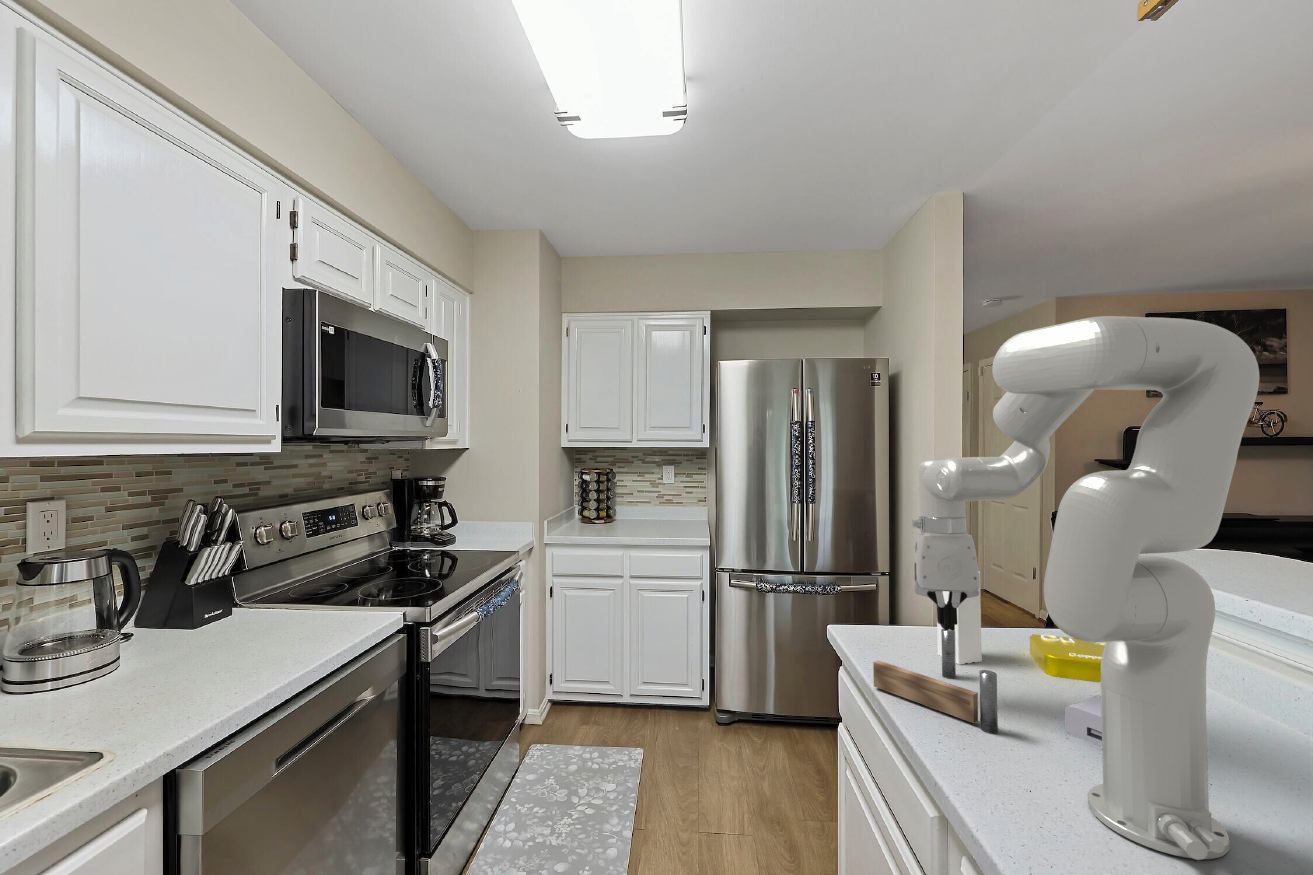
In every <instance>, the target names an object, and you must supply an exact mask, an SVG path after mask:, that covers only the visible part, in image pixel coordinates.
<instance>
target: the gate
mask: <svg viewBox="0 0 1313 875" xmlns="http://www.w3.org/2000/svg"><path fill="white" fill-rule="evenodd" d="M872 663H873V664H872V665H873V666H872V667H873V687H875V688H877V689H879V690H882V691H886V692H887V693H891V694H894V695H895V696H899V697H902V698H904V699H907V700H910V701H912V702H916V703H918V704H921V705H923V706H926V707H928V708H931V709H934V710H936V711H939V712H942V713H945V714H948V715H949V716H950V715H951V716H953V717H956V718H959V719H961V720H964V721H967V722H969V723H972V724H975V723H977V722H978V721H979V697H978V696H979V693H978V692H976V691H974V690H970V689H968V688H965V687H961V686H959V685H955V684H951V683H949V682H946V681H943V680H940V679H936V678H933V677H930V676H928V675H925V674H921V673H919V672H915V671H913V670H909V669H906V668H902V667H900V666H897V665H893V664H891V663H887V662H884V661H881V660H878V659H877V660H875V661H873V662H872Z"/></svg>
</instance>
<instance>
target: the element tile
mask: <svg viewBox="0 0 1313 875" xmlns="http://www.w3.org/2000/svg"><path fill="white" fill-rule="evenodd" d="M1105 645H1106V642H1087V641H1082V640H1078V639H1075V638H1073V637H1067V636H1066V637H1065V636H1055V635H1051V634H1033V633H1032V634H1031V635H1030V636H1029V655H1030V656H1031V657H1032V659H1033V658H1034V659H1033V660H1034V661H1035V663H1036V662H1037V663H1038V664H1037V663H1036V664H1037V665H1038V667H1039V668H1040V669H1041V670H1042V671H1043V673H1045V674H1046V675H1048V676H1051V677H1055V678H1059V679H1068V680H1069V679H1070V680H1077V681H1086V682H1093V683H1101V660H1102V655H1103V651H1104V648H1105Z"/></svg>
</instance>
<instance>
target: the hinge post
mask: <svg viewBox="0 0 1313 875" xmlns="http://www.w3.org/2000/svg"><path fill="white" fill-rule="evenodd" d="M979 710H980V711H979V713H980V714H979V716H980V717H979V720H980V725H979V727H980V730H981V731H983V732H985V733H987V734H998V732H999V722H998V721H999V717H998V716H999V714H998V713H999V712H998V674H997V673H996V672H995V671H992V670H989V669H988V670H987V669H981V670H979Z"/></svg>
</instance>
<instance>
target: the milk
mask: <svg viewBox="0 0 1313 875" xmlns="http://www.w3.org/2000/svg"><path fill="white" fill-rule="evenodd" d="M979 579H980V580H981V571H979ZM978 591H979V595H978V596H976V597H971V598H966V599H965V600H964V601H963V602H962V603H961V604H960V605H959V607H958V608H957V625H955V630H954V631H955V658H956V663H957V664H956V665H959V666H960V665H965V663H968V664H973V663H972V662H975V663H981V662H982V660H983V659H982V658H983V656H982V614H981V613H982V612H981V610H982V609H981V608H982V607H981V600H982V599H981V585H980V586H979V589H978ZM948 595H949V591H943V596H944V601H945V603H946V604H947V602H948ZM936 625H937V626H936V628H937V631H936V632H937V637H936V639H937V640H936V641H937V655H938V656H939V655H940V656H939V657H941V656H942V637H941V629H943V628H942V627H941V624H938V621H937V620H936Z"/></svg>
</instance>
